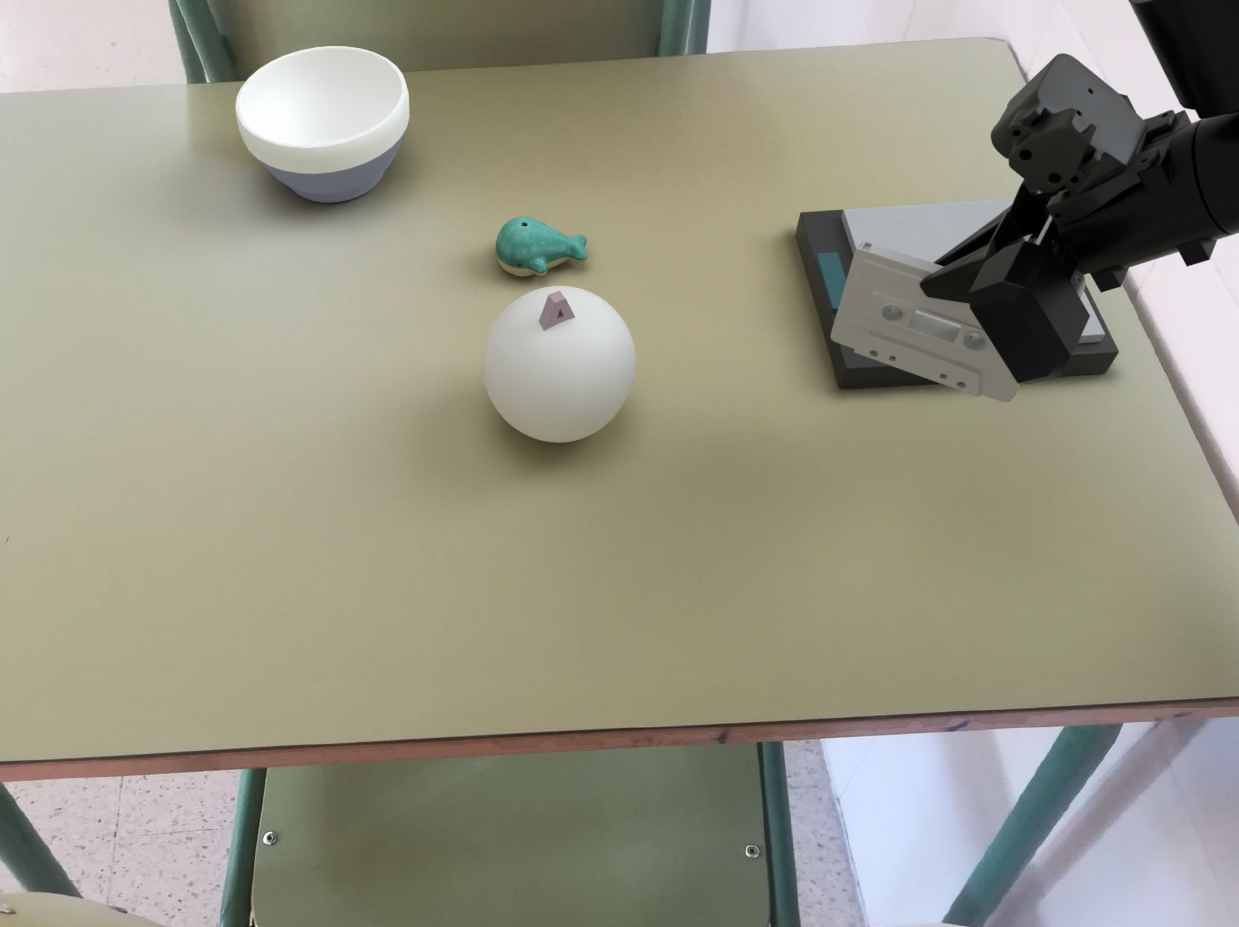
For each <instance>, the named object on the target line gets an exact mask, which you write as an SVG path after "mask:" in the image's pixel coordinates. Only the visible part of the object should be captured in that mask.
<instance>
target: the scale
mask: <svg viewBox="0 0 1239 927" xmlns="http://www.w3.org/2000/svg"><path fill="white" fill-rule="evenodd" d="M1014 199H1015V197H1010V198H1009V197H1007V198H994V199H993V198H992V199H980V200H979V199H977V200H964V201H947V202H933V203H917V204H904V205H887V206H873V207H872V206H871V207H858V208H857V207H856V208H844V209H829V210H816V211H815V210H814V211H813V210H812V211H801V212H800V213H799V217H798V221H797V225H796V229H795V233H794V235H795V238H796V241H797V245H798V248H799V251H800V252H799V253H800V256H801V259H802V262H803V263H802V264H803V265H804V269H805V273H806V277H807V280H808V283H809V287H810V290H811V294H812V297H813V301H814V304H815V309H816V311H817V315H818V319H819V322H820V325H821V329H822V333H823V336H824V339H825V343H826V348H827V350H828V354H829V357H830V361H831V364H832V366H833V368H832V369H833V371H834V374H835V377H836V381H837V385H838V388H839V390H850V389H865V388H881V387H882V388H884V387H897V386H898V387H899V386H913V385H914V386H915V385H930V384H932V385H933V384H939V383H938V382H935V381H932V380H930V379H927V378H924V377H921V376H918V375H916V374H913V373H910V372H907V371H905V370H902V369H899V368H896V367H893V366H891V365H888V364H885V363H882V362H879V361H877V360H874V359H871V358H868V357H866V356H863V355H860V354H857V353H855V349H853V348H851V347H848V346H845V345H842V344H840V343H837V342H834V341H833V340H832V339H831V332H832V328H833V325H834V321H835V318H836V314H837V312H838V308H839V305H840V301H841V298H842V294H843V291H844V288H845V284H846V281H847V277H848V274H849V270H850V267H851V263H852V260H853V256H854V253H855V251H856V250H857V248H858V247H859V245H860V244H861V243H862V242H864V241H866V242H869V243H872V244H875V245H878V246H881V247H885V248H888V249H891V250H894V251H897V252H900V253H903V254H906V255H910V256H913V257H916V258H919V259H922V260H925V261H928V262H931V263H933V262H935V261H936V260H937V259H939V258H940V257H942V256H943V255H944V254H946V253H947V252H948V251H950V250H951V249H953V248H954V247H955V246H957V245H958V244H960V243H961V242H962V241H964V240H965V239H966V238H968V237H969V236H971V235H972V234H973V233H975V232H976V231H978V230H979V229H980V228H982V227H983V226H984V225H986V224H987V223H988V222H990V221H991V220H992V219H994V218H995V217H996V216H998V215H999V214H1000V213H1002V212H1003V211H1004V210H1006V209H1007V208H1008V207H1009V206H1011V205H1012V204H1013V201H1014ZM1080 299H1081V301H1082V302H1083V304H1084V306H1085V308H1086V309H1087V311H1088V313H1089V314H1090V317H1089V320H1088V322H1087V324H1086V326H1085V328H1084V331H1083V333H1082V335H1081V337H1080V340H1079V342H1078V344H1077V346H1076V348H1075V351H1074V353H1073V355H1072V357H1071V359H1070V361H1069V363H1068V365H1067V366H1066V368H1065V370H1064V372H1063V374H1062V375H1061V376H1060V377H1063V376H1080V375H1081V376H1083V375H1095V374H1096V375H1097V374H1107V372H1108V371H1109V369H1110V368H1111V366H1112V365H1113V362H1114V361H1115V360H1116V358H1117V356H1118V355H1119V353H1120V350H1119V349H1118V346H1117V343H1116V342H1115V340H1114V338H1113V336H1112V334H1111V332H1110V330H1109V328H1108V325H1107V324H1106V322H1105V320H1104V318H1103V316H1102V314H1101V312H1100V310H1099V308H1098V305H1097V303H1096V302H1095V300H1094V297H1093V296H1092V293H1091V292H1090V290H1089V288H1088V286H1087V284H1085V289H1084V291H1083V294H1082V296H1081V298H1080ZM916 312H917V313H920V314H923V315H926V316H929V317H932V318H935V319H938V320H941V321H944V322H947V323H950V324H953V325H956V326H959V327H961V326H960V325H957V324H954V323H952V322H949V321H946V320H943V319H940V318H937V317H934V316H931V315H928V314H925V313H922V312H919V311H916Z"/></svg>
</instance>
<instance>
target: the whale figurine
mask: <svg viewBox="0 0 1239 927" xmlns="http://www.w3.org/2000/svg"><path fill="white" fill-rule="evenodd" d="M587 243H588V240H587V237H586V235H584V234H574V235H571V236H568V235H567V234H564V233H563V232H561V231H559V230H557V229H555V228H553V227H552V226H549V225H547V223H545V222H544V221H538V220H536V219H534V218H533V217H530V216H524V215H523V216H517V217H514V218H511V219H510V220H508V221H507V222H506V223H505V224H504V225H503V226H502V227H501V228H500V230H499V231H498V233H497V236H496V240H495V254H496V256H495V257H496V260H497V262H498V263H499V265H500V267H501V268H502V270H505V271H506V272H507V273H509V274H511V275H513V276H517V277H522V278H523V277H528V276H532V275H537V276H538V277H543V276H546V274H547V272H548V270H550V269H552V268H554V267H557V266H559V265H561V264H563V263H565V262H567V261H572V262H574V263H585V262H586V261H587V260H588V253H587V251H586V245H587Z"/></svg>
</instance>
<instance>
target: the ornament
mask: <svg viewBox="0 0 1239 927" xmlns="http://www.w3.org/2000/svg"><path fill="white" fill-rule="evenodd" d="M481 358H482V359H481V371H482V372H481V373H482V379H483V380H482V381H483V383H484V388H485V390H486V393H487V396H488V398H489V399H490V401H491V403H492V405H493V406H494V408H495V410H496V411H497V412H498V413H499V414H500V416H501V417H502V418H503V420H505V421H506V422H507V423H508V425H510V426H511V427H513V428H514V429H515V430H517V431H518V432H520V433H522V434H524V435H526V436H527V437H529V438H532V439H535V440H537V441H542V442H546V443H559V444H560V443H570V442H575V441H579V440H582V439H585V438H588V437H589V436H591V435H593V434H595V433H597V432H598V431H601V429H603V428H604V427H605V426H607V425H608V423H610V422H611V421H612V420H613V419H614V418H615V417H616V415H617V414H618V413H619V411H620V410H621V408H622V407H623V406H624V404H625V402H626V401H627V398H628V397H629V394H630V392H631V390H632V386H633V384H634V380H635V376H636V370H637V356H636V348H635V342H634V341H633V337H632V334H631V332H630V330H629V328H628V326H627V324H626V321H624V319H623V317H621V315H620V314H619V313H618V311H617V310H616V309H615V308H614V307H613V306H612V305H611V304H610V303H608V301H606V300H604V298H602V297H601V296H600V295H599V296H598V295H597V294H595V293H593V292H591V291H589V290H586V289H583V288H580V287H576V286H569V285H551V286H544V287H541V288H537V289H534V290H531V291H529V292H527V293H524V294H523V295H521V296H520V297H518V298H517V299H515V300H514V301H512V302H511V303H510V304H509V305H508V306H507V307H506V308H505V309H503V311H502V312H501V314H500V315H499V316H498V318H497V319H496V320H495V321H494V324H493V325H492V327H491V329H490V331H489V332H488V336H487V338H486V340H485V344H484V347H483V351H482V357H481Z"/></svg>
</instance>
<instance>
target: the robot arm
mask: <svg viewBox="0 0 1239 927" xmlns="http://www.w3.org/2000/svg"><path fill="white" fill-rule="evenodd" d="M1128 3H1129V5H1130V7H1131V9H1132V11H1133V13H1134V15H1135V17H1136V19H1137V21H1138V22H1139V25H1140V27H1141V29H1142V31H1143V33H1144V35H1145V37H1146V39H1147V41H1148V43H1149V45H1150V47H1151V49H1152V51H1153V53H1154V55H1155V57H1156V59H1157V61H1158V63H1159V65H1160V67H1161V69H1162V70H1163V72H1164V75H1165V76H1166V79H1167V81H1168V83H1169V85H1170V87H1171V89H1172V91H1173V93H1174V95H1175V97H1176V99H1177V101H1178V103H1179V105H1180V106H1181V107H1182V108H1183V110H1180V111H1178V112H1175V110H1173V109H1169V110H1167V111H1166V110H1165V111H1164V112H1162V113H1161V112H1160V113H1159V114H1156V115H1154V116H1152V117H1148V118H1144V119H1143V118H1142V116H1140V115H1139V114H1138V113H1137V111H1136V110H1135V107H1134V105H1133V103H1132V101H1131V100H1130V98H1129V96H1128V95H1126V94H1123V93H1119V92H1118V91H1117V90H1115V89H1114V88H1113V87H1112V86H1111V85H1109V84H1108V83H1107V82H1106V81H1104V80H1103V79H1102V78H1100V77H1099V76H1098V75H1097V74H1095V73H1094V72H1093V71H1092V70H1091V69H1090V68H1088V67H1087V66H1086V65H1084V64H1083V63H1082V62H1081V61H1080V60H1078V59H1077V58H1076V57H1074V56H1073V55H1071V54H1068V53H1063V52H1061V53H1057V54H1056V55H1055V56H1054V57H1053V58H1051V60H1050V61H1049V62H1047V63H1046V65H1045V66H1043V67H1042V68H1041V70H1039V71H1038V72H1037V73H1036V74H1035V75H1034V76H1033V77H1032V78H1031V79H1030V80H1029V81H1028V82H1027V83H1026V84H1025V85H1024V86H1023V87H1022V88H1021V89H1020V90H1019V91H1018V92H1017V93H1016V94H1015V95H1014V96H1013V97H1012V98H1011V99H1009V101H1008V103H1007V104H1006V108H1005V110H1004V111H1003V113H1002V115H1001V117H1000V118H999V120H998V121H997V123H996V124H995V125H994V126H993V128H992V130H991V132H990V141H991V144H992V146H993V147H994V149H995V150H996V152H998V154H1000V155H1001V156H1002V157H1003V158H1005V159H1006V160H1008V166H1009V168H1010V169H1011V170H1012V171H1013V172H1015V173H1016V174H1017V175H1019V177H1021V178H1022V179H1023V180H1022V181H1021V183H1020V185H1019V188H1018V190H1017V192H1016V194H1015V196H1014V198H1015V199H1014V201H1013V204H1012V205H1011V206H1009V207H1008V208H1007V209H1006V210H1004V211H1003V212H1002V213H1000V214H999V215H998V216H996V217H995V218H994V219H992V220H991V221H990V222H988V223H987V224H986V225H984V226H983V227H982V228H980V229H979V230H978V231H976V232H975V233H973V234H972V235H971V236H969V237H968V238H966V239H965V240H964V241H962V242H961V243H960V244H958V245H957V246H955V247H954V248H953V249H951V250H950V251H948V252H947V253H946V254H944V255H943V256H942V257H940V258H939V259H937V260H936V261H935V262H933V263H934V264H938V265H941V266H944V267H943V268H941V269H939V270H938V271H936V272H934V273H932V274H931V275H929V276H927V277H926V278H924V279H922V280H921V282H920V284H919V286H920V288H921V289H922V291H923V292H924V294H925V295H926V296H927V297H929V298H935V299H942V300H948V301H955V302H961V303H968V304H970V309H971V311H972V312H973V314H974V316H975V317H976V319H977V320H978V322H979V323H980V325H981V327H982V328H983V330H984V331H985V333H986V334H987V336H988V338H989V339H990V341H991V342H992V344H993V346H994V347H995V349H996V350H997V352H998V353H999V355H1000V357H1001V358H1002V360H1003V361H1004V363H1005V364H1006V366H1007V368H1008V369H1009V371H1010V372H1011V374H1012V375H1013V377H1014V379H1015V380H1016V382H1017V383H1018V384H1021V385H1030V384H1034V383H1038V382H1041V381H1046V380H1049V379H1055V378H1058V377H1062V376H1061V375H1062V374H1063V372H1064V370H1065V368H1066V366H1067V365H1068V363H1069V361H1070V359H1071V357H1072V355H1073V353H1074V351H1075V348H1076V346H1077V344H1078V342H1079V340H1080V337H1081V335H1082V333H1083V331H1084V328H1085V326H1086V324H1087V322H1088V320H1089V317H1090V314H1089V313H1088V311H1087V309H1086V308H1085V306H1084V304H1083V302H1082V301H1081V299H1080V298H1081V296H1082V294H1083V291H1084V289H1085V284H1086V277H1085V275H1088V274H1090V277H1091V279H1092V280H1093V282H1094V284H1095V285H1096V287H1097V288H1098V291H1099V292H1100V293H1105V292H1108V291H1112V290H1114V289H1119V288H1121V287H1122V285H1123V283H1124V280H1125V278H1126V276H1127V273H1128V272H1129V269H1130V268H1133V267H1136V266H1139V265H1142V264H1145V263H1148V262H1151V261H1155V260H1157V259H1161V258H1164V257H1167V256H1170V255H1174V254H1177V253H1179V255H1180V256H1181V259H1182V260H1183V262H1184V265H1185V266H1186V268H1188V267H1191V266H1194V265H1197V264H1201V263H1203V262H1204V263H1205V262H1208V261H1210V259H1211V257H1212V255H1213V252H1214V249H1215V247H1216V245H1217V242H1218V240H1221V239H1224V238H1228V237H1231V236H1235V235H1237V234H1239V0H1128ZM1186 110H1191V111H1193V110H1194V112H1195V113H1196V116H1197V117H1198V120H1196V121H1194V122H1192V120H1191V119H1190V117H1189V115H1188V113H1187V111H1186ZM1086 285H1087V284H1086Z"/></svg>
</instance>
